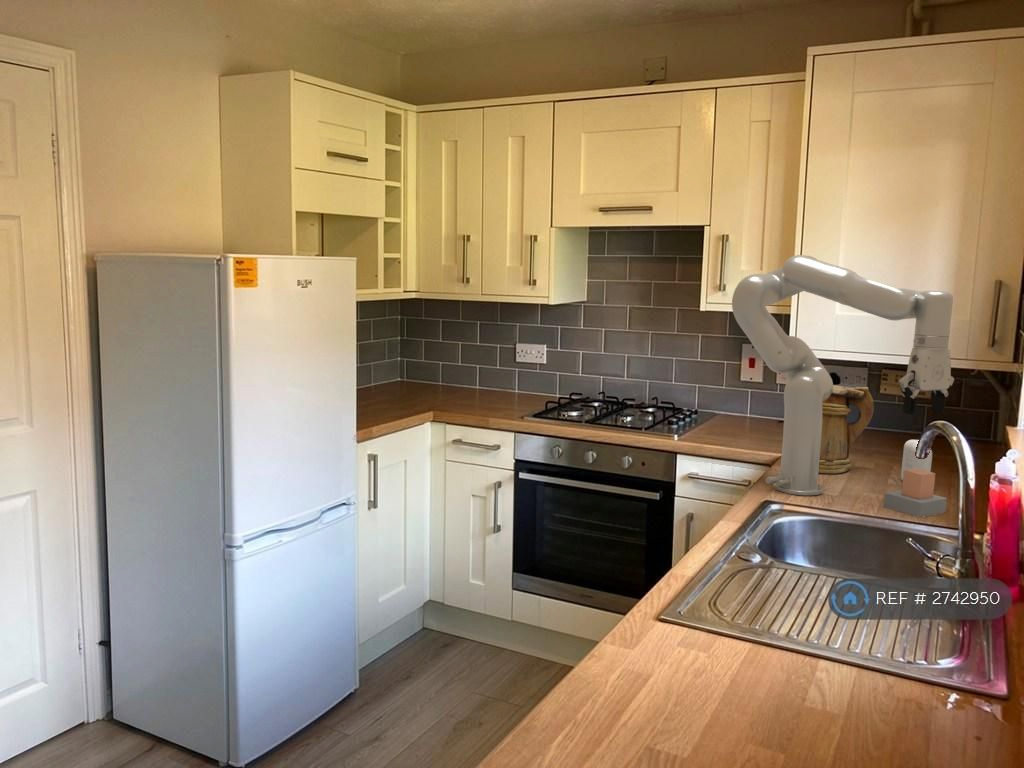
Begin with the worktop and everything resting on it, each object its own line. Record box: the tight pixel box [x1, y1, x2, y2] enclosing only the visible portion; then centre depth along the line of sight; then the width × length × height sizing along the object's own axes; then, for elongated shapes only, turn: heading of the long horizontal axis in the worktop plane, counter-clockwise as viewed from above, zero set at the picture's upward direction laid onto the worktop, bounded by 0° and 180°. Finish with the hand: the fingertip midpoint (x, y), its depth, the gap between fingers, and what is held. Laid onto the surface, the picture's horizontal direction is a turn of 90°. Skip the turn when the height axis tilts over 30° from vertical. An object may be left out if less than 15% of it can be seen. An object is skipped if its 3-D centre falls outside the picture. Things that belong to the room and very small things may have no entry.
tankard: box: [818, 384, 875, 475], centre depth 248 cm, size 18×24×25 cm
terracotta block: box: [901, 469, 936, 499], centre depth 207 cm, size 5×5×6 cm
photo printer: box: [900, 439, 933, 481], centre depth 232 cm, size 10×4×12 cm, turn 0°
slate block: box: [883, 489, 948, 518], centre depth 208 cm, size 10×10×4 cm
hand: (923, 412), depth 205 cm, fingers open, 9 cm apart
